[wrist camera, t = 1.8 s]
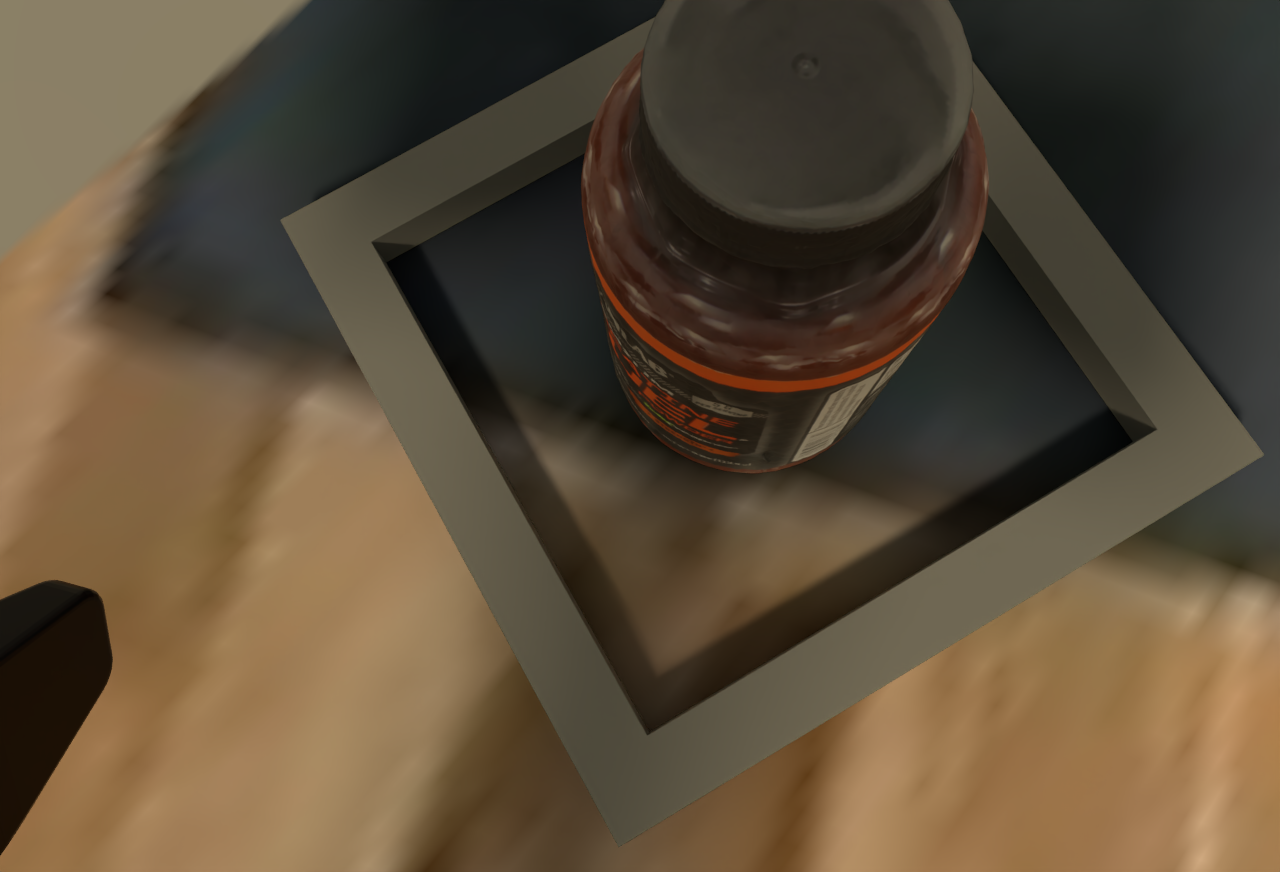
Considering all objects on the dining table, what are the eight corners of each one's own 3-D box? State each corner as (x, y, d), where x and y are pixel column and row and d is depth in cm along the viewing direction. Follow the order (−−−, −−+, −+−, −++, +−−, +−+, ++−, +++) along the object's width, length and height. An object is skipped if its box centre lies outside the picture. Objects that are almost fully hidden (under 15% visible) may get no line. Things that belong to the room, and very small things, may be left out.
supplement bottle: (557, 370, 23) (445, 102, 12) (723, 175, 24) (756, -236, 13) (771, 537, 22) (854, 409, 11) (936, 329, 23) (1162, 21, 12)
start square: (1234, 466, 22) (1264, 454, 21) (622, 837, 21) (618, 847, 20) (850, -58, 26) (858, -94, 24) (299, 241, 24) (280, 219, 23)
